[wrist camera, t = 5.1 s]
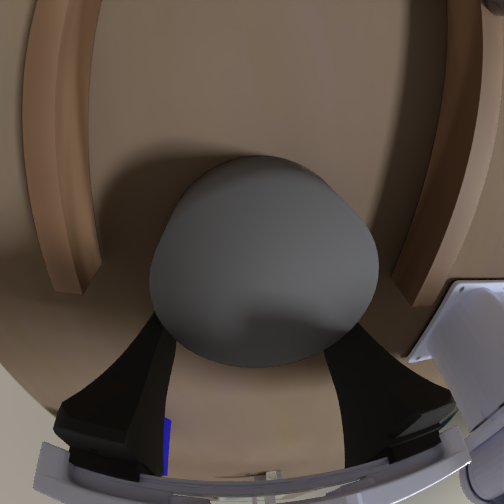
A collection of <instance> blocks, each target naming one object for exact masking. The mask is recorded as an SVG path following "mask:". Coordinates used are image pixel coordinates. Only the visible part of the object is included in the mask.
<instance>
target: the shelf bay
mask: <svg viewBox="0 0 504 504" xmlns="http://www.w3.org/2000/svg"><path fill="white" fill-rule="evenodd" d="M101 1H102V0H37V3H36V7H35V11H34V15H33V20H32V24H31V29H30V34H29V40H28V46H27V53H26V61H25V70H24V82H23V105H22V123H23V146H24V159H25V168H26V177H27V184H28V191H29V197H30V203H31V208H32V213H33V218H34V223H35V227H36V231H37V236H38V240H39V244H40V247H41V251H42V255H43V258H44V261H45V265H46V268H47V271H48V274H49V277H50V280H51V283H52V286H53V289H54V291H56V292H63V293H70V294H77V295H83V294H84V292H85V290H86V289H87V287H88V285H89V283H90V282H91V280H92V278H93V277H94V275H95V273H96V272H97V270H98V268H99V267H100V265H101V264H102V259H101V254H100V249H99V243H98V237H97V231H96V224H95V217H94V210H93V201H92V192H91V181H90V168H89V148H88V103H89V83H90V71H91V61H92V52H93V45H94V38H95V32H96V26H97V20H98V15H99V10H100V6H101ZM502 77H503V37H502V23H501V16H495V15H493V14H492V13H491V12H490V11H489V10H488V9H487V7H486V6H485V4H484V3H483V1H482V0H447V56H446V69H445V79H444V88H443V96H442V103H441V109H440V115H439V121H438V126H437V131H436V136H435V141H434V146H433V150H432V154H431V159H430V163H429V167H428V170H427V174H426V178H425V182H424V185H423V189H422V192H421V195H420V199H419V202H418V205H417V208H416V211H415V214H414V217H413V220H412V223H411V226H410V229H409V232H408V235H407V237H406V240H405V243H404V245H403V248H402V251H401V253H400V256H399V258H398V261H397V263H396V266H395V268H394V270H393V273H392V275H391V279H392V280H393V281H394V283H395V284H396V286H397V287H398V288H399V290H400V291H401V293H402V294H403V296H404V297H405V298H406V300H407V301H408V303H409V304H410V306H411V307H421V306H433V304H434V302H435V301H436V299H437V297H438V295H439V293H440V291H441V289H442V288H443V286H444V284H445V282H446V280H447V278H448V276H449V274H450V272H451V269H452V267H453V265H454V263H455V261H456V259H457V257H458V254H459V252H460V250H461V247H462V245H463V243H464V240H465V238H466V235H467V233H468V230H469V228H470V225H471V222H472V220H473V217H474V214H475V211H476V208H477V205H478V202H479V199H480V196H481V193H482V190H483V186H484V183H485V179H486V176H487V172H488V168H489V164H490V160H491V156H492V151H493V146H494V141H495V136H496V131H497V125H498V118H499V111H500V102H501V92H502Z"/></svg>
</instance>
